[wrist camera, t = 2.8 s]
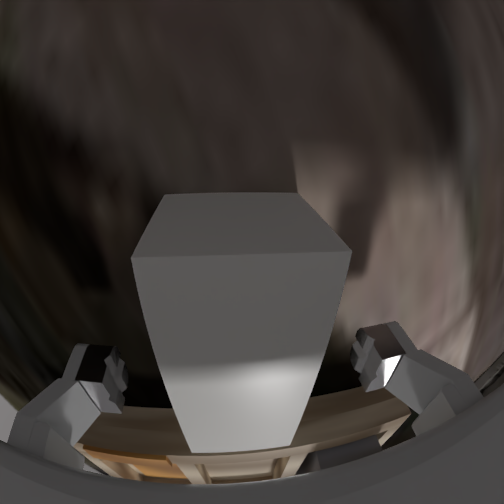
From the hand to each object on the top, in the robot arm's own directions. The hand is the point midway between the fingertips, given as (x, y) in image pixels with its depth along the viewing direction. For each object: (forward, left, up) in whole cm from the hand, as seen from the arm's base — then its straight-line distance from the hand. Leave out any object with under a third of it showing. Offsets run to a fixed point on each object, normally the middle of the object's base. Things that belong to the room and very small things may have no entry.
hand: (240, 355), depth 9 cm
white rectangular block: (0, 0, -2) cm, 2 cm away
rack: (+13, 0, -2) cm, 14 cm away
